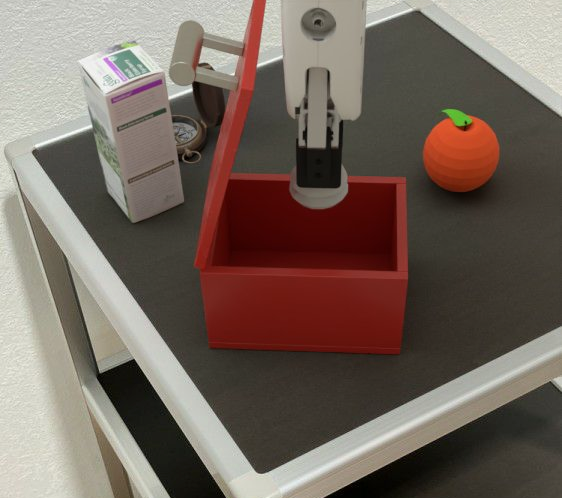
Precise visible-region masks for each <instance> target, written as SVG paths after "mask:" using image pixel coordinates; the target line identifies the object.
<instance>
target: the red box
mask: <svg viewBox="0 0 562 498" xmlns="http://www.w3.org/2000/svg"><path fill="white" fill-rule="evenodd" d="M290 177H291V174H288V173H287V174H285V173H284V174H283V173H282V174H281V173H279V174H278V173H241V172H240V173H239V172H231V174H230V178H229V181H228V185H227V189H226V192H225V196H224V200H223V203H222V207H221V210H220V214H219V218H218V221H217V225H216V228H215V232H214V236H213V239H212V243H211V247H210V250H209V254H208V257H207V261H206V265H205V268H204V269H200V268H199V279H200V284H201V285H200V286H201V293H202V295H201V296H202V302H203V310H204V317H205V326H206V332H207V340H208V347H209V349H224V350H225V349H228V350H251V351H252V350H254V351H255V350H257V351H286V352H287V351H288V352H313V353H338V354H339V353H341V354H343V353H344V354H368V353H370V355H371V354H373V355H397V354H399V355H400V354H401V347H402V338H403V329H404V322H405V321H404V320H405V310H406V304H407V303H406V301H407V293H408V286H409V285H408V284H409V260H408V258H409V257H408V256H409V253H408V251H409V249H408V210H407V209H408V208H407V205H408V204H407V201H408V200H407V177H406V176H374V175H373V176H372V175H371V176H369V175H347V184H348V193H347V194H346V195H345V197H344V198H343V200H342V201H340V202H339V203H338V204H336V205H334V206H333V207H330V208H326V209H311V208H308V207H305V206H303V205H301V204H300V203H299V202H297V201H296V200H295V199H294V198H293V197H292V195H291V193H290V191H289V189H290Z"/></svg>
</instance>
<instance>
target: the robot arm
mask: <svg viewBox="0 0 562 498" xmlns="http://www.w3.org/2000/svg"><path fill="white" fill-rule="evenodd" d="M367 4H368V0H280V22H281V41H282V42H281V46H282V47H281V48H282V63H283V79H284V80H283V81H284V90H285V91H284V93H285V103H286V112H287V114H288V115H289V116H290V118H292V119H294V120H297V118H296V116H298V118H299V121H298V137H296V138H295V166H296V184H297V186H298V187H300V188H330V189H336V188H339V187H340V186H341V167H342V165H343V163H342V162H343V147H344V146H343V145H344V144H343V143H344V121H347V120H348V121H351V122H352V121H353V122H354V121H356V120H358V118H359V117H360V116H361V114H362V102H363V101H362V100H363V84H364V68H365V67H364V65H365V45H366V43H365V42H366V27H367V6H368V5H367ZM305 100H308V101H305ZM327 100H332V101H327ZM339 115H340V117H341V119H342V120H341V121H340V122H339ZM307 117H308V126H307ZM327 117H332V121H331V128H330V127H327Z"/></svg>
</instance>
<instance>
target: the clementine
mask: <svg viewBox="0 0 562 498" xmlns="http://www.w3.org/2000/svg"><path fill="white" fill-rule="evenodd" d="M442 113H446V115H447V116H448V117H446V118H445V119H443V120H442V121H440V122H439V123H438V124H436V125H435V126H433V128H432V130H431V131H430V132H429V134H428V136H427V137H426V138H425V142H424V146H423V149H422V161H423V166H424V169H425V171H426V173H427V174H428V176H429V178H430V179H431V180H432V182H434V183H435V184H436V185H437V186H438V187H440V188H441V189H444V190H446V191H450V192H453V193H466V192H471V191H473V190H476V189H477V188H479V187H481V186H483V185H484V184H485V183H486V182H488V181H489V180H490V178H491V177H492V176H493V174H494V173H495V172H496V170H497V166H498V163H499V161H500V145H499V141H498V139H497V135H496V133H495V132H494V129H492V128H491V127H490V125H489V124H488V123H486V121H484V120H482V119H480V118H478V117H475V116H473V115H468V114H465V113H464V112H463V111H461V110H458V109H453V108H445V109H443V110H441V111H439V112H438V114H437V117H436V119H439V116H440V115H441V114H442Z"/></svg>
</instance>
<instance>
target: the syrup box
mask: <svg viewBox="0 0 562 498" xmlns="http://www.w3.org/2000/svg"><path fill="white" fill-rule="evenodd" d="M77 66H78V70H79V74H80V79H81V85H82V88H83V92H84V96H85V97H84V98H85V101H86V105H87V109H88V110H87V111H88V115H89V118H90V123H91V127H92V131H93V136H94V141H95V144H96V145H95V146H96V150H97V153H98V158H99V163H100V165H101V170H102V174H103V179H104V183H105V187H106V192H107V193H108V195H109V196H110V197H111V198H112V200H113V201H114V202H115V204H116V205H117V206H118V207H119V208H120V210H121V211H122V212H123V213H124V215H125V216H126V218H127V219H128V220H129V221H130V223H132V224H136V223H138V222H141V221H144V220H147V219H149V218H152V217H154V216H157V215H158V214H161V213H163V212H165V211H167V210H170V209H172V208H175V207H177V206H179V205H181V204H183V203H185V196H184V191H183V184H182V183H183V182H182V176H181V169H180V163H179V159H178V155H177V149H176V143H175V136H174V130H173V124H172V117H171V116H172V112H171V105H170V98H169V93H168V86H167V80H166V73H165V71H164V69H162V68H161V67H160V65H159V64H158V63H157V62H156V61H155V60H154V59H153V58H152V57H151V56H150V55H149V54H148V53H147V51H146V50H144V49H143V48H142V46H141V45H140V44H139V43H138V42H137V41H136V40H130V41H126V42H122V43H119V44H115V45H112V46H109V47H107V48H104V49H102V50H99V51H97V52H95V53H92V54H90V55H88V56H86V57H84V58H81V59H78V60H77Z"/></svg>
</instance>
